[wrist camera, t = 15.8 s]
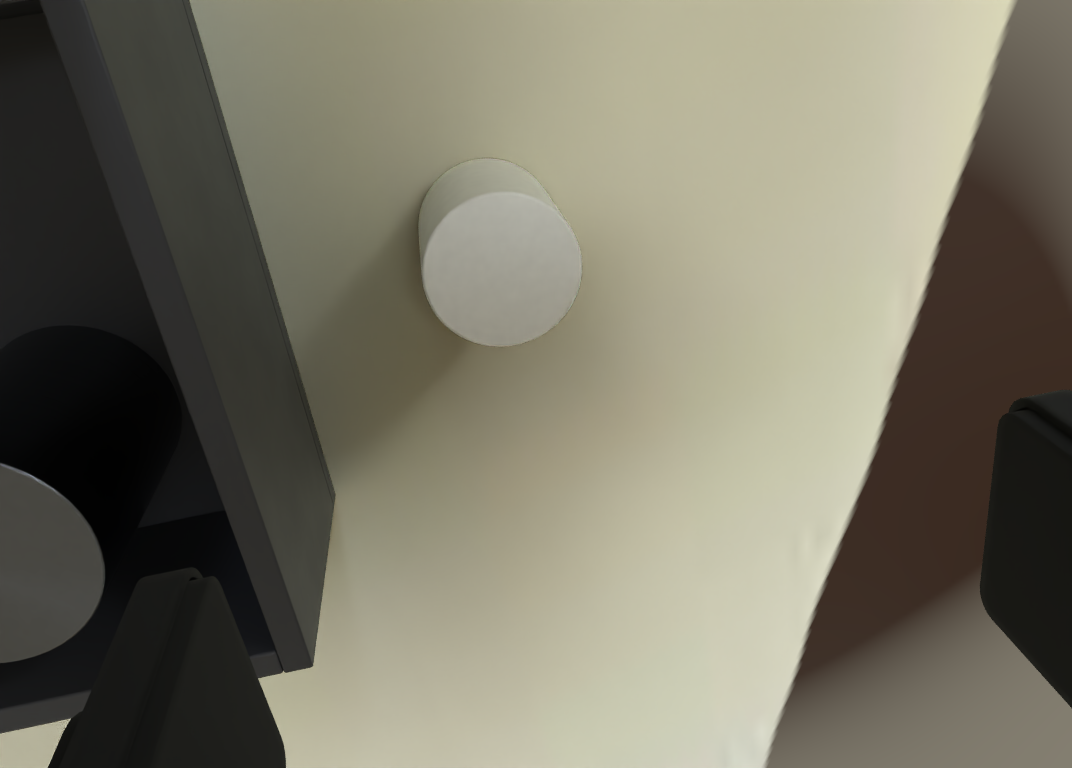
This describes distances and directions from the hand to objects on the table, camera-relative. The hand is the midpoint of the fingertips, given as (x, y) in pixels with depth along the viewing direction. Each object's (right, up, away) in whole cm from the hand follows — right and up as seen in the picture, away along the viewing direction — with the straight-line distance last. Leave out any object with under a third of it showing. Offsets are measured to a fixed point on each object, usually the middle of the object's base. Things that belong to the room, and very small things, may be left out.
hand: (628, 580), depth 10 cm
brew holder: (-16, +2, +18) cm, 24 cm away
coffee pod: (-3, +7, +18) cm, 19 cm away
